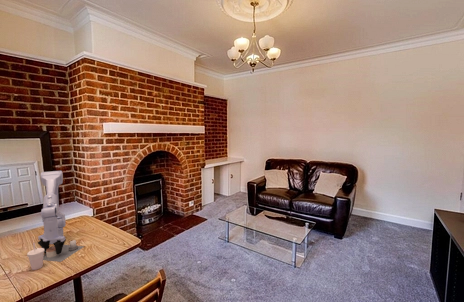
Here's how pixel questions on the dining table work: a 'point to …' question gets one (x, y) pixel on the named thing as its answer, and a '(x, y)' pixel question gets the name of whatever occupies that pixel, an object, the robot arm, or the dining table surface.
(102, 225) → the dining table surface
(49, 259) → the knob mounting plate
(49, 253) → the cap
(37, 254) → the smoothie
